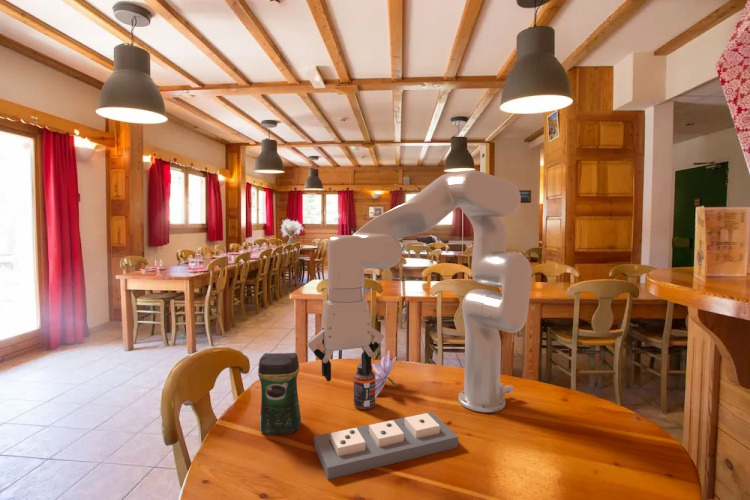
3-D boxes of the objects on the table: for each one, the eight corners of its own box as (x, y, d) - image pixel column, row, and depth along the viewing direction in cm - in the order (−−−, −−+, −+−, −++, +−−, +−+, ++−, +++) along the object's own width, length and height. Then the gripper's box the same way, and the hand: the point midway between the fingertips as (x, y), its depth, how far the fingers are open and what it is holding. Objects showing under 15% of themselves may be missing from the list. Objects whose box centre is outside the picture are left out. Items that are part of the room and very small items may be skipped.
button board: (431, 421, 99) (431, 411, 99) (458, 447, 88) (458, 436, 88) (314, 446, 89) (314, 435, 89) (327, 479, 78) (327, 467, 77)
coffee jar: (303, 418, 101) (301, 348, 99) (297, 436, 93) (295, 359, 91) (265, 419, 101) (263, 348, 99) (256, 436, 93) (254, 360, 91)
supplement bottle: (373, 411, 104) (372, 370, 103) (351, 409, 106) (351, 368, 105) (377, 401, 110) (377, 362, 109) (356, 399, 111) (356, 360, 110)
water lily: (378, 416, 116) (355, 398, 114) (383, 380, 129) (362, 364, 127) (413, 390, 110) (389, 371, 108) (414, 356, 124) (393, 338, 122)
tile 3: (356, 437, 89) (356, 426, 89) (365, 452, 83) (365, 440, 83) (330, 443, 87) (330, 432, 87) (338, 459, 81) (337, 447, 81)
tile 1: (426, 422, 95) (427, 412, 95) (439, 435, 90) (439, 424, 90) (404, 427, 93) (404, 416, 93) (416, 440, 88) (416, 429, 88)
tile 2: (392, 429, 92) (392, 419, 92) (403, 443, 87) (403, 432, 86) (368, 435, 90) (368, 424, 90) (378, 449, 85) (378, 438, 84)
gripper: (378, 288, 89) (378, 364, 90) (301, 294, 83) (302, 375, 84) (391, 294, 82) (391, 376, 83) (308, 301, 76) (309, 389, 77)
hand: (346, 375), depth 84 cm, fingers open, 7 cm apart
